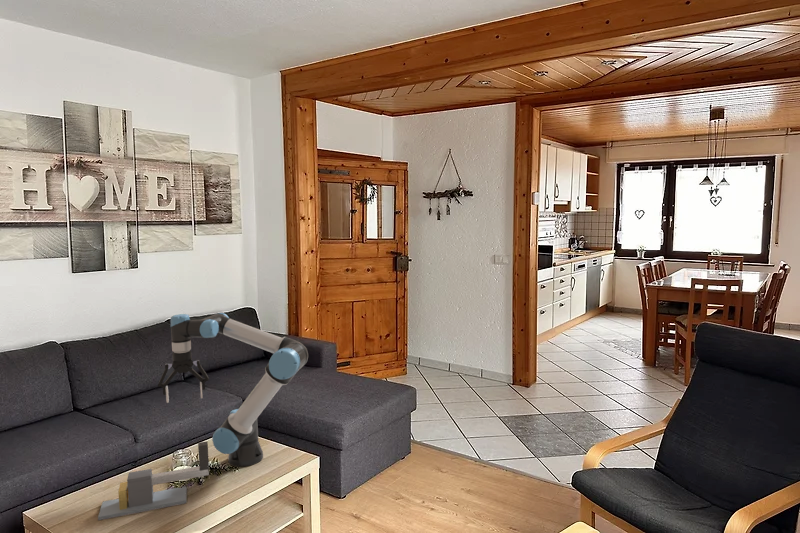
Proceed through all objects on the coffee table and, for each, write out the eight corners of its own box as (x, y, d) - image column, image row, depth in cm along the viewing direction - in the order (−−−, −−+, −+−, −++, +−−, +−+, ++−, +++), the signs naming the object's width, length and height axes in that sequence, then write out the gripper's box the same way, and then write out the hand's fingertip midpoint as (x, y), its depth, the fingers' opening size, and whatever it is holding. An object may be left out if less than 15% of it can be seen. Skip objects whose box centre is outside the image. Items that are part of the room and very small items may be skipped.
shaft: (209, 471, 219) (207, 441, 218) (209, 475, 216) (207, 444, 215) (137, 484, 210) (134, 452, 209) (136, 488, 207) (133, 456, 206)
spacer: (129, 499, 211) (127, 481, 210) (127, 508, 204) (125, 490, 204) (121, 500, 210) (120, 482, 210) (119, 509, 204) (118, 491, 203)
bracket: (186, 488, 221) (184, 460, 220) (186, 503, 210) (184, 472, 209) (103, 504, 210) (100, 474, 209) (98, 520, 199) (95, 488, 198)
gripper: (212, 345, 240) (215, 392, 242) (150, 352, 231) (153, 400, 233) (213, 349, 233) (215, 398, 235) (149, 356, 224) (152, 406, 226)
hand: (184, 399), depth 234 cm, fingers open, 13 cm apart
